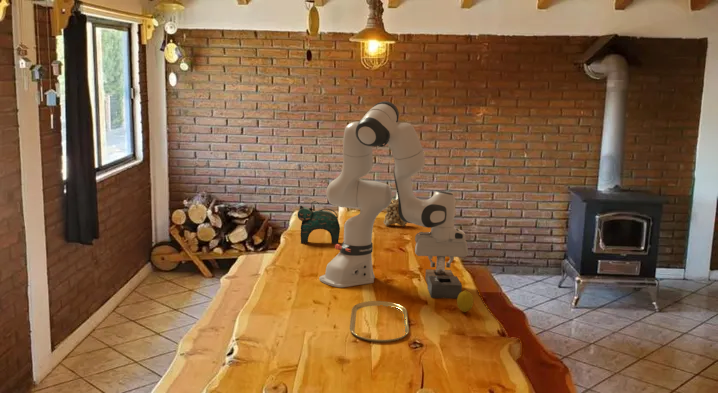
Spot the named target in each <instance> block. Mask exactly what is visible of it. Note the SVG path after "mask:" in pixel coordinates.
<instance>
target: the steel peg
mask: <svg viewBox="0 0 718 393" xmlns="http://www.w3.org/2000/svg"><path fill="white" fill-rule="evenodd" d="M435 267H436V269H435V270H436V275H444V270H446V269H445V268H446V257H444V256H436V263H435Z"/></svg>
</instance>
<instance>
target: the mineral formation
mask: <svg viewBox="0 0 718 393" xmlns="http://www.w3.org/2000/svg"><path fill="white" fill-rule="evenodd" d="M385 211H386V213H385V215H384V220H383V224H384V225H385V226H388V227H389V226H390V225H395V224H397V225H399V226H401V227H405V226H406V225H407V224H408V223H407V222H404V221H403V220H402V219H401V218H400V216H399V213H398V198H395V199H392V201H391V203H390V205H389V206H388V207H387V208H385Z"/></svg>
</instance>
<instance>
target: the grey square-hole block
mask: <svg viewBox="0 0 718 393" xmlns="http://www.w3.org/2000/svg"><path fill="white" fill-rule="evenodd" d="M462 289H463V285H462V283H461V282H460V280H459V278H458V276H457V275H454V276H428V285H427V291H428V293H429V296H430V298H431V299H457V298H458V295H459V294H460V293H461V292H462Z"/></svg>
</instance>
